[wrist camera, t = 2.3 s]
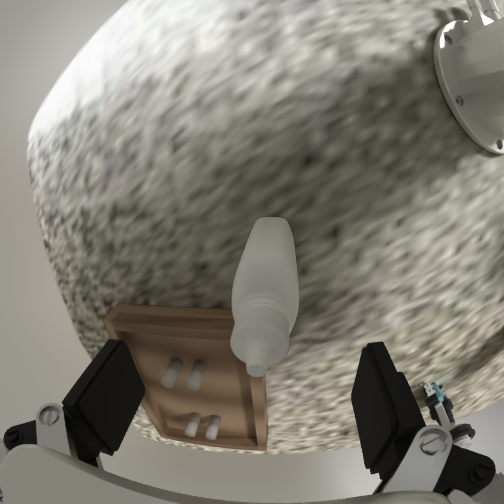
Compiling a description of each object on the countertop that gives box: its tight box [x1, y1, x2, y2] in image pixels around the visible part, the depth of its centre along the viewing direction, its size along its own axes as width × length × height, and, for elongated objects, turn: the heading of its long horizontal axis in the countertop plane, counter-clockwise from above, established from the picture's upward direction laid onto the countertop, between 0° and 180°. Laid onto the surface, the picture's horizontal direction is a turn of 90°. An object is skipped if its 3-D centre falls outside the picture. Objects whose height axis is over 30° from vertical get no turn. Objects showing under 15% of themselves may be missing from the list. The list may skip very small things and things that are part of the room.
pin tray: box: [103, 303, 268, 451], centre depth 25 cm, size 20×14×4 cm
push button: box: [424, 382, 475, 449], centre depth 20 cm, size 7×5×10 cm
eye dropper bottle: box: [230, 217, 299, 377], centre depth 15 cm, size 4×6×12 cm
